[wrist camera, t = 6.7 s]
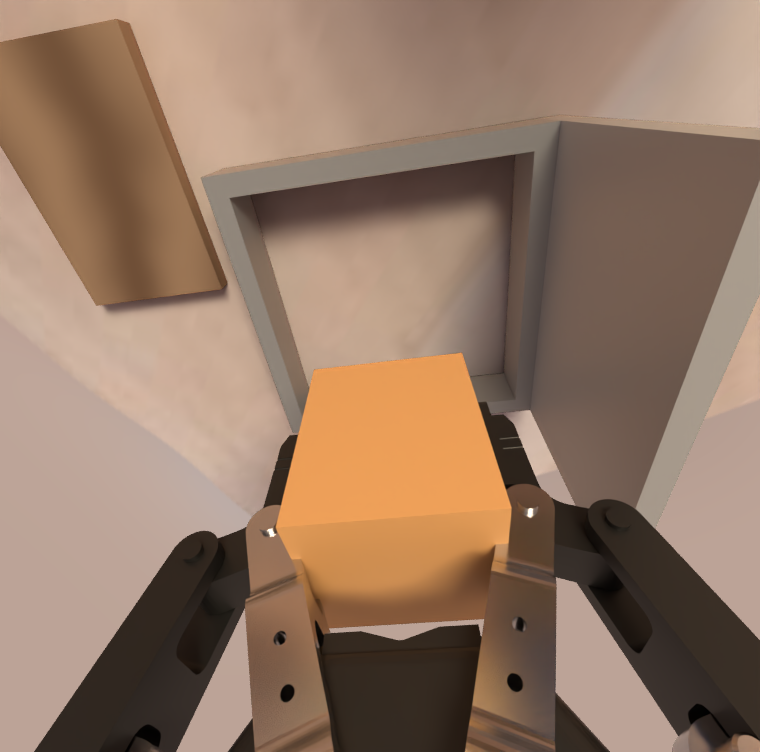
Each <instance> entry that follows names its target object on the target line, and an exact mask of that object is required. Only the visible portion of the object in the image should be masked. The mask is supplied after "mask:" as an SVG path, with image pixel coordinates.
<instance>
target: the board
mask: <svg viewBox="0 0 760 752" xmlns="http://www.w3.org/2000/svg"><path fill="white" fill-rule="evenodd" d="M0 146H1V148H2V149H3V151H4V153H5V154H6V156H7V158H8V159H9V161H10V163H11V164H12V166H13V168H14V169H15V171H16V173H17V174H18V176H19V178H20V179H21V181H22V183H23V184H24V186H25V188H26V189H27V191H28V193H29V194H30V196H31V198H32V199H33V201H34V203H35V204H36V206H37V208H38V209H39V211H40V213H41V214H42V216H43V218H44V219H45V221H46V223H47V224H48V226H49V228H50V229H51V231H52V233H53V234H54V236H55V238H56V239H57V241H58V243H59V244H60V246H61V248H62V249H63V251H64V253H65V254H66V256H67V258H68V259H69V261H70V263H71V264H72V266H73V268H74V269H75V271H76V273H77V274H78V276H79V278H80V279H81V281H82V283H83V284H84V286H85V288H86V289H87V291H88V293H89V294H90V296H91V298H92V299H93V301H94V303H95V304H96V306H98V305H106V304H113V303H121V302H129V301H136V300H144V299H151V298H159V297H167V296H174V295H182V294H189V293H197V292H204V291H212V290H220V289H223V287H224V286H225V285H226V284H227V280H226V277H225V275H224V272H223V270H222V267H221V264H220V262H219V259H218V256H217V254H216V251H215V248H214V246H213V243H212V240H211V238H210V235H209V233H208V230H207V227H206V225H205V222H204V219H203V217H202V214H201V211H200V209H199V206H198V203H197V201H196V198H195V195H194V193H193V190H192V188H191V185H190V182H189V180H188V177H187V174H186V172H185V169H184V166H183V164H182V161H181V158H180V156H179V153H178V151H177V148H176V145H175V143H174V140H173V137H172V135H171V132H170V129H169V127H168V124H167V121H166V119H165V116H164V114H163V111H162V108H161V106H160V103H159V100H158V98H157V95H156V92H155V90H154V87H153V84H152V82H151V79H150V76H149V74H148V71H147V69H146V66H145V63H144V61H143V58H142V55H141V53H140V50H139V47H138V45H137V42H136V39H135V37H134V34H133V32H132V29H131V26H130V24H129V23H127V22H124V21H121V20H118V19H114V20H109V21H104V22H99V23H94V24H89V25H84V26H79V27H74V28H69V29H64V30H59V31H54V32H49V33H44V34H39V35H34V36H29V37H24V38H19V39H14V40H9V41H4V42H0Z"/></svg>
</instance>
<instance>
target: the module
mask: <svg viewBox="0 0 760 752" xmlns="http://www.w3.org/2000/svg"><path fill="white" fill-rule="evenodd" d="M511 511H512V508H511V504H510V501H509V498H508V495H507V492H506V489H505V486H504V483H503V480H502V476H501V473H500V470H499V467H498V464H497V461H496V458H495V455H494V451H493V448H492V445H491V442H490V439H489V436H488V433H487V430H486V426H485V423H484V420H483V417H482V414H481V411H480V408H479V405H478V401H477V398H476V395H475V392H474V389H473V386H472V383H471V380H470V376H469V373H468V370H467V367H466V364H465V361H464V358H463V355H462V353H456V354H447V355H438V356H430V357H421V358H412V359H403V360H395V361H386V362H377V363H369V364H360V365H351V366H343V367H334V368H325V369H316V370H314V372H313V377H312V381H311V385H310V389H309V393H308V397H307V401H306V405H305V409H304V413H303V418H302V422H301V426H300V430H299V434H298V438H297V442H296V446H295V450H294V454H293V459H292V463H291V467H290V471H289V475H288V479H287V483H286V487H285V491H284V495H283V500H282V504H281V508H280V512H279V516H278V520H277V524H276V529H277V531H278V534H279V536H280V538H281V540H282V542H283V544H284V546H285V548H286V550H287V552H288V554H289V556H290V558H291V559H301V560H302V562H303V564H304V567H305V569H306V573H307V578H308V582H309V586H310V589H311V592H312V595H313V597H314V599H320V601H321V603H322V605H323V608H324V612H325V616H326V620H327V624H328V627H329V628H342V627H358V626H375V625H391V624H409V623H425V622H442V621H458V620H474V619H484V618H485V611H486V604H487V597H488V589H489V582H490V575H491V568H492V563H493V560H494V554H495V547H496V544H507V543H509V532H510V521H511Z"/></svg>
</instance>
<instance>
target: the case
mask: <svg viewBox="0 0 760 752" xmlns="http://www.w3.org/2000/svg"><path fill="white" fill-rule="evenodd" d="M514 154H515V170H514V189H513V208H512V227H511V246H510V265H509V284H508V303H507V322H506V341H505V360H504V373H500V374H490V375H481V376H471V377H470V380H471V383H472V386H473V389H474V392H475V395H476V398H477V401H478V402H484V401H486V402H487V404H488V407H489V410H490V413H491V414H493V413H503V412H513V411H524V410H530V411H531V413H532V415H533V417H534V419H535V421H536V423H537V425H538V427H539V429H540V432H541V434H542V436H543V438H544V440H545V442H546V444H547V446H548V448H549V451H550V453H551V455H552V457H553V459H554V461H555V463H556V465H557V467H558V469H559V472H560V474H561V476H562V478H563V480H564V482H565V484H566V486H567V488H568V491H569V492H570V494H571V497H572V499H573V501H574V503H575V505H576V506H579V507H584V508H590V506H591V505H592V504H593V503H594V502H596V501H599V500H603V499H613V500H618V501H621V502H624V503H626V504H628V505H630V506H632V507H633V508H635V509H636V510H637V511H638V512H640V513H641V514H642V516H643V517H644V518H645V519H646V520H647V521H648V522H649V523H650V524H651V525H652V526H653V527H654V528H656V526H657V524H658V521H659V519H660V517H661V515H662V513H663V510H664V508H665V506H666V504H667V501H668V499H669V497H670V495H671V492H672V490H673V488H674V486H675V483H676V481H677V479H678V477H679V474H680V472H681V470H682V468H683V465H684V463H685V461H686V459H687V456H688V454H689V452H690V450H691V447H692V445H693V443H694V441H695V439H696V436H697V434H698V432H699V430H700V427H701V425H702V423H703V421H704V418H705V416H706V414H707V412H708V409H709V407H710V405H711V403H712V400H713V398H714V396H715V394H716V391H717V389H718V387H719V385H720V382H721V380H722V378H723V376H724V373H725V371H726V369H727V367H728V364H729V362H730V360H731V358H732V355H733V353H734V351H735V349H736V346H737V344H738V342H739V340H740V338H741V335H742V333H743V331H744V329H745V326H746V324H747V322H748V320H749V317H750V315H751V313H752V311H753V308H754V306H755V304H756V302H757V299H758V297H759V295H760V128H750V127H734V126H719V125H704V124H689V123H674V122H658V121H643V120H628V119H613V118H598V117H582V116H567V115H556V116H550V117H544V118H537V119H531V120H525V121H518V122H512V123H506V124H500V125H493V126H487V127H481V128H475V129H468V130H462V131H456V132H450V133H443V134H437V135H431V136H425V137H418V138H412V139H406V140H400V141H393V142H387V143H381V144H374V145H368V146H362V147H356V148H349V149H343V150H337V151H331V152H324V153H318V154H312V155H306V156H299V157H293V158H287V159H281V160H274V161H268V162H262V163H256V164H249V165H243V166H237V167H230V168H224V169H221V170H219V171H216V172H214V173H211V174H209V175H206V176H204V177H201V180H202V183H203V185H204V188H205V191H206V194H207V197H208V199H209V202H210V205H211V208H212V210H213V213H214V216H215V219H216V221H217V224H218V227H219V230H220V233H221V235H222V238H223V241H224V244H225V246H226V249H227V252H228V255H229V257H230V260H231V263H232V266H233V269H234V271H235V274H236V277H237V280H238V282H239V285H240V288H241V291H242V293H243V296H244V299H245V302H246V305H247V307H248V310H249V313H250V316H251V318H252V321H253V324H254V327H255V329H256V332H257V335H258V338H259V341H260V343H261V346H262V349H263V352H264V354H265V357H266V360H267V363H268V365H269V368H270V371H271V374H272V377H273V379H274V382H275V385H276V388H277V390H278V393H279V396H280V399H281V401H282V404H283V407H284V410H285V413H286V415H287V418H288V421H289V424H290V426H291V429H292V432H293V433H297V432H299V430H300V426H301V422H302V418H303V413H304V409H305V405H306V401H307V397H308V393H309V387H308V384H307V381H306V378H305V374H304V371H303V368H302V364H301V361H300V358H299V354H298V351H297V348H296V345H295V341H294V338H293V335H292V331H291V328H290V325H289V321H288V318H287V315H286V311H285V308H284V305H283V302H282V298H281V295H280V292H279V288H278V285H277V282H276V278H275V275H274V272H273V269H272V265H271V262H270V259H269V255H268V252H267V249H266V245H265V242H264V239H263V235H262V232H261V229H260V226H259V222H258V219H257V216H256V212H255V209H254V206H253V202H252V199H251V196H250V195H252V194H258V193H265V192H271V191H278V190H284V189H291V188H297V187H304V186H311V185H317V184H324V183H330V182H337V181H343V180H350V179H356V178H363V177H370V176H376V175H383V174H389V173H396V172H402V171H409V170H415V169H422V168H428V167H435V166H442V165H448V164H455V163H461V162H468V161H474V160H481V159H487V158H494V157H500V156H507V155H514Z"/></svg>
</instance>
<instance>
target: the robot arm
mask: <svg viewBox="0 0 760 752" xmlns="http://www.w3.org/2000/svg"><path fill="white" fill-rule="evenodd" d="M478 405H479V408H480V411H481V414H482V417H483V420H484V423H485V426H486V430H487V433H488V436H489V439H490V442H491V445H492V448H493V451H494V455H495V458H496V461H497V464H498V467H499V470H500V473H501V476H502V480H503V483H504V486H505V489H506V492H507V495H508V498H509V501H510V504H511V508H512V511H511V521H510V532H509V543H507V544H496V547H495V554H494V560H493V563H492V568H491V575H490V582H489V589H488V597H487V604H486V611H485V618H484V626H483V632H482V636H480V631H479V626H478V625H462V626H445V627H438V628H435V629H432V630H429V631H427V632H424V633H421V634H419V635H416V636H413V637H410V638H408V639H405V640H394V639H390V638H386V637H382V636H378V635H374V634H370V633H366V632H361V631H360V632H344V633H330V630H329V627H328V624H327V620H326V616H325V612H324V608H323V605H322V603H321V601H320V599H314V597H313V595H312V592H311V589H310V586H309V582H308V578H307V573H306V569H305V567H304V564H303V562H302V560H301V559H291V558H290V556H289V554H288V552H287V550H286V548H285V546H284V544H283V542H282V540H281V538H280V536H279V534H278V531H277V529H276V524H277V520H278V516H279V512H280V508H281V504H282V500H283V495H284V491H285V487H286V483H287V479H288V475H289V471H290V467H291V463H292V459H293V454H294V450H295V446H296V442H297V438H298V435H290V436H289V437H288V438H287V440H286V441H285V442H284V443H283V445H282V446H281V448H280V452H279V455H278V461H277V462H276V466H275V471H274V473H273V476H272V480H271V483H270V487H269V490H268V494H267V497H266V501H265V504H264V507H263V509H261V510H260V511H258V512H257V513H256V514H255V515H254V516H253V517H252V518H251V519H250V521H249V522H248V525H247V527H245V528H244V529H242V530H239V531H237V532H234V533H232V534H229V535H226V536H224V537H221V538H217V537H216V535H215V534H213V533H212V532H209V531H199V532H196V533H194V534H191V535H189V536H187V537H186V538H185V539H183V540H182V541H181V542H180V543H179V544H178V545H177V546H176V547H175V548H174V550H173V551H172V552H171V554H170V555H169V557H168V558H167V560H166V561H165V563H164V564H163V566H162V567H161V568H160V570H159V571H158V573H157V574H156V576H155V577H154V579H153V580H152V582H151V583H150V584H149V586H148V587H147V589H146V590H145V592H144V593H143V595H142V596H141V598H140V599H139V600H138V602H137V603H136V605H135V606H134V608H133V609H132V611H131V612H130V613H129V615H128V616H127V618H126V619H125V621H124V622H123V624H122V625H121V626H120V628H119V630H118V631H117V632H116V634H115V635H114V637H113V638H112V640H111V641H110V643H109V644H108V645H107V647H106V648H105V650H104V651H103V653H102V654H101V656H100V657H99V658H98V660H97V661H96V663H95V664H94V666H93V667H92V669H91V670H90V671H89V673H88V674H87V676H86V677H85V679H84V680H83V682H82V683H81V685H80V686H79V687H78V689H77V690H76V692H75V693H74V695H73V696H72V698H71V699H70V701H69V702H68V703H67V705H66V706H65V708H64V709H63V711H62V712H61V714H60V715H59V717H58V718H57V719H56V721H55V722H54V724H53V725H52V727H51V728H50V730H49V731H48V732H47V734H46V735H45V737H44V738H43V740H42V741H41V743H40V744H39V745H38V747H37V748H36V750H35V751H34V752H176V750H177V749H178V746H179V745H180V742H181V740H182V738H183V736H184V734H185V732H186V730H187V728H188V726H189V723H190V721H191V719H192V717H193V715H194V713H195V711H196V709H197V707H198V705H199V703H200V700H201V698H202V696H203V694H204V692H205V690H206V688H207V686H208V684H209V682H210V679H211V678H212V675H213V673H214V671H215V669H216V667H217V665H218V663H219V661H220V659H221V657H222V654H223V652H224V650H225V648H226V646H227V644H228V642H229V640H230V638H231V636H232V634H233V631H234V629H235V627H236V625H237V623H238V621H239V619H240V617H241V615H242V613H243V610H244V608H245V616H246V631H247V645H248V657H249V658H248V659H249V673H250V688H251V702H252V716H253V718H252V720H251V721H250V722H249V724H248V725H247V726H246V728H245V729H244V731H243V732H242V733H241V735H240V736H239V737H238V739H237V740H236V741H235V743H234V744H233V746H232V747H231V748H230V750H229V751H228V752H610V751H609V750H608V749H607V748H606V747H605V746H604V745H603V744H602V743H601V741H600V740H598V738H597V737H596V736H595V735H594V734H593V733H592V732H591V731H590V730H589V728H588V727H587V726H586V725H585V724H584V723H583V722H582V721H581V720H580V719H579V718H578V717H577V715H576V714H575V713H574V712H573V711H572V710H571V709H570V708H569V707H568V706H567V704H565V702H564V701H563V700H562V699H561V698H560V697H559V696H558V695H557V694H556V693H555V685H556V684H555V682H556V577H558V578H561V579H565V580H569V581H574V582H577V584H578V585H579V587H580V588H581V590H582V591H583V593H584V594H585V596H586V597H587V599H588V600H589V602H590V603H591V605H592V606H593V608H594V609H595V611H596V612H597V614H598V615H599V617H600V618H601V620H602V621H603V623H604V624H605V626H606V627H607V629H608V630H609V632H610V633H611V635H612V636H613V638H614V640H615V641H616V642H617V644H618V646H619V647H620V649H621V650H622V652H623V653H624V655H625V656H626V658H627V659H628V661H629V662H630V664H631V665H632V667H633V668H634V670H635V671H636V673H637V674H638V676H639V677H640V678H641V680H642V682H643V683H644V685H645V686H646V688H647V689H648V691H649V692H650V694H651V695H652V697H653V698H654V700H655V701H656V703H657V704H658V706H659V707H660V709H661V711H662V712H663V713H664V715H665V716H666V718H667V720H668V721H669V723H670V724H671V726H672V727H673V728H674V730H675V731H676V733H677V735H678V736H679V737H678V738H677V739H676V740H675V742H674V744H673V748H672V752H760V640H759V639H758V638H757V637H756V636H755V635H754V634H753V633H752V632H751V630H750V629H749V628H748V627H747V626H746V625H745V624H744V623H743V622H742V621H741V620H740V619H739V618H738V617H737V616H736V614H735V613H734V612H733V611H732V610H731V609H730V608H729V607H728V606H727V605H726V604H725V603H724V602H723V601H722V600H721V598H720V597H719V596H718V595H717V594H716V593H715V592H714V591H713V590H712V589H711V588H710V587H709V586H708V585H707V584H706V583H705V582H704V581H703V579H702V578H701V577H700V576H699V575H698V574H697V573H696V572H695V571H694V570H693V569H692V568H691V567H690V566H689V564H688V563H687V562H686V561H685V560H684V559H683V558H682V557H681V556H680V555H679V554H678V553H677V552H676V551H675V550H674V548H673V547H672V546H671V545H670V544H669V543H668V542H667V541H666V540H665V539H664V538H663V537H662V536H661V535H660V534H659V533H658V531H657V530H656V529H655V528H654V527H653V526H652V525H651V524H650V523H649V522H648V521H647V520H646V519H645V518H644V517H643V516H642V514H641V513H640V512H638V511H637V510H636V509H635V508H633V507H632V506H630V505H628V504H626V503H624V502H621V501H618V500H613V499H603V500H599V501H596V502H594V503H593V504H592V505H591V506H590V508H584V507H579V506H574V505H568V504H564V503H561V502H559V501H556V500H555V499H553V498H551V497H550V496H549V495H548V494H547V493H546V492H545V491H544V490H542V489H541V487H540V486H539V484H538V482H537V479H536V477H535V475H534V472H533V470H532V467H531V465H530V462H529V460H528V457H527V455H526V453H525V450H524V448H523V445H522V443H521V440H520V438H519V436H518V433H517V431H516V428H515V426H514V424H513V423H512V422H511V421H510V420H509V419H508V418H507V417H506V416H504V415H494V416H491V413H490V410H489V407H488V404H487V402H486V401H484V402H478Z"/></svg>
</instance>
